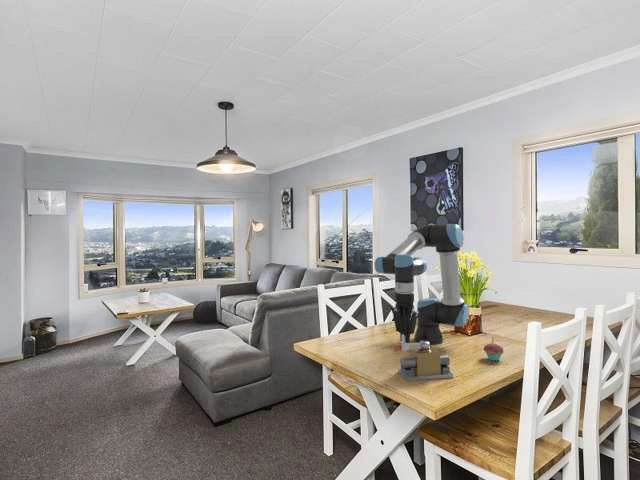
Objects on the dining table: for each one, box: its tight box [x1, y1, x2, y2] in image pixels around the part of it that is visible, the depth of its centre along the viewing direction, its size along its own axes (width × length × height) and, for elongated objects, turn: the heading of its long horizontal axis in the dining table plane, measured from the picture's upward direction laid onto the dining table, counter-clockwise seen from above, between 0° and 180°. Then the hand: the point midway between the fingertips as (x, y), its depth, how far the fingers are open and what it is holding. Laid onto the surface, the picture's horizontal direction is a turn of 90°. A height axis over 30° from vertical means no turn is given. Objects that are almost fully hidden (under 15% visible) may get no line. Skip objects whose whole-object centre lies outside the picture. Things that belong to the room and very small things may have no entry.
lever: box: [392, 341, 431, 352], centre depth 151 cm, size 16×4×3 cm, turn 98°
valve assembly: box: [397, 345, 454, 382], centre depth 152 cm, size 20×10×11 cm, turn 98°
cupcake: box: [483, 334, 505, 362], centre depth 169 cm, size 9×8×12 cm
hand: (405, 350), depth 147 cm, fingers closed
